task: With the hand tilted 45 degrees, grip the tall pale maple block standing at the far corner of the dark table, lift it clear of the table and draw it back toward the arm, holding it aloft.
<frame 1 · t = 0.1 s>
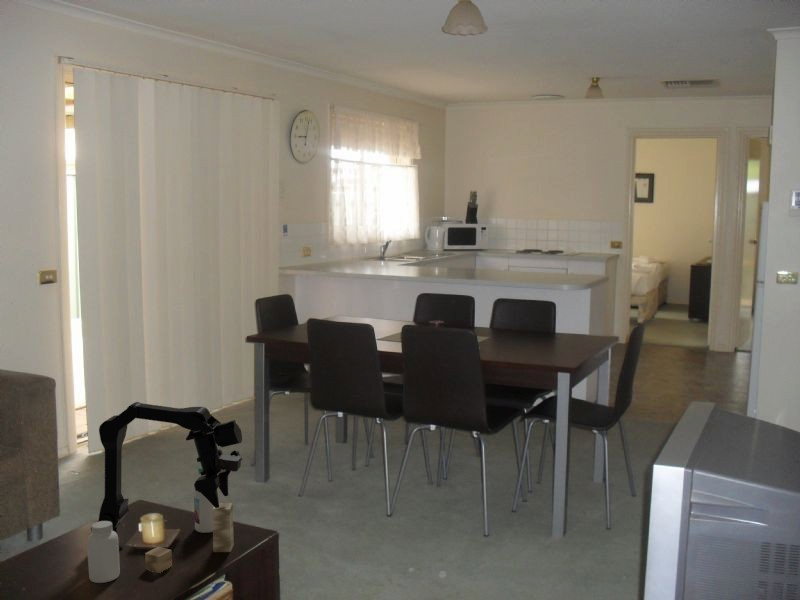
hand: (222, 501, 232), 15 cm above the table, tool pointing down, fingers open, 9 cm apart
oak cube: (159, 568, 224), on the table
milk bottle: (207, 529, 251), on the table
pill bottle: (104, 577, 219), on the table
maple block: (223, 548, 237), on the table
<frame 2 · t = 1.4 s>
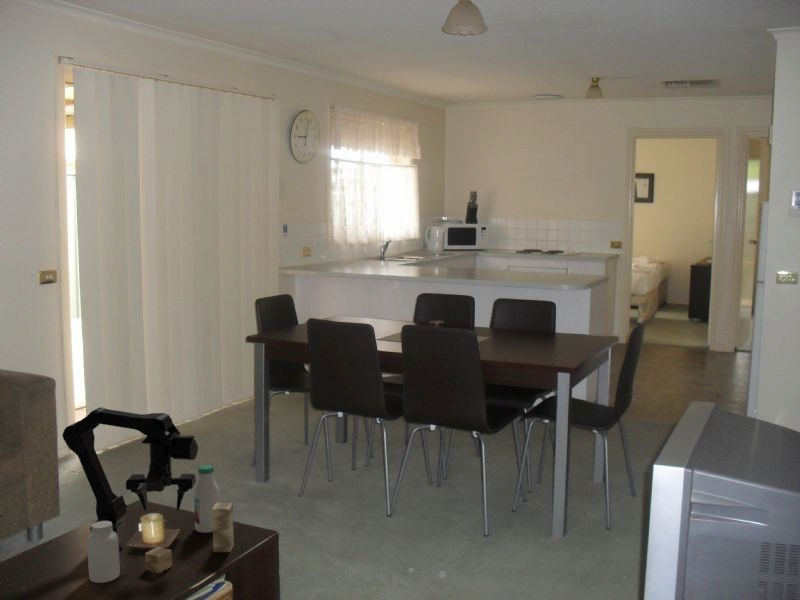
hand: (162, 510, 232), 13 cm above the table, tool pointing down, fingers open, 9 cm apart
nothing on the table moved.
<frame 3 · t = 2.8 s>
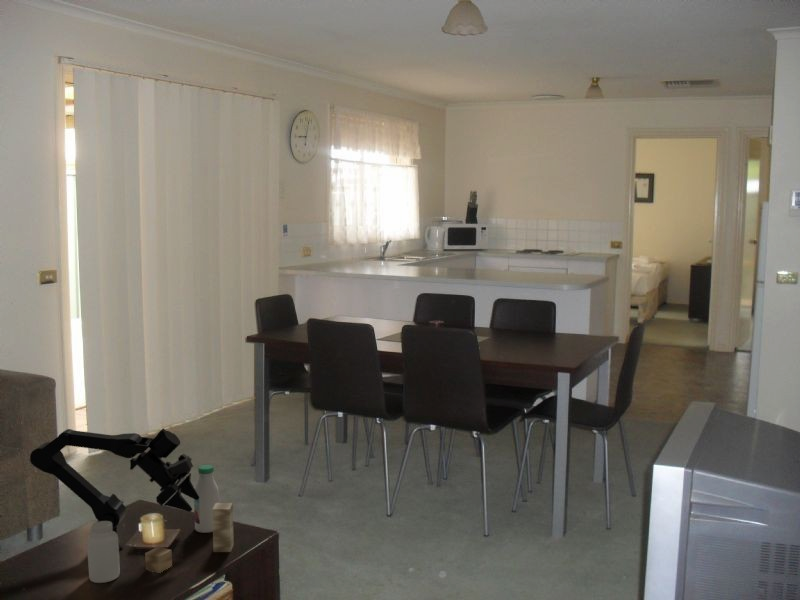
hand: (194, 504, 235), 13 cm above the table, tool tilted 45°, fingers open, 9 cm apart
nothing on the table moved.
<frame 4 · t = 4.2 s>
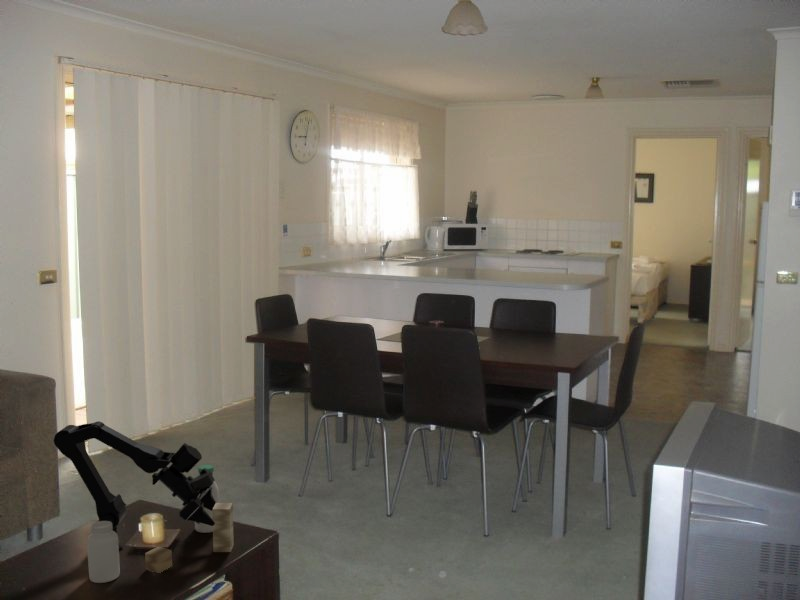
hand: (217, 518, 236), 9 cm above the table, tool tilted 45°, fingers open, 9 cm apart
nothing on the table moved.
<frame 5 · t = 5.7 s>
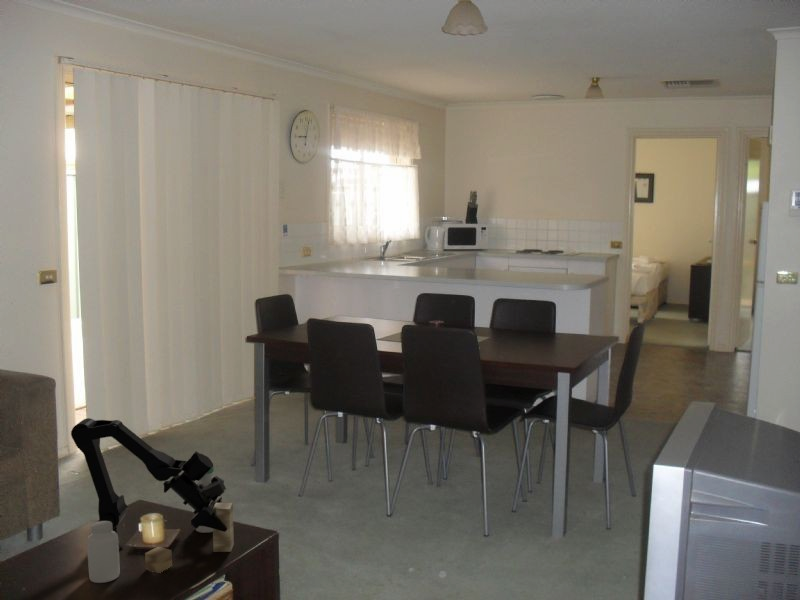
hand: (227, 526, 236), 7 cm above the table, tool tilted 45°, fingers closed on maple block, 5 cm apart
maple block: (223, 548, 237), on the table, touching gripper
everything else where it was.
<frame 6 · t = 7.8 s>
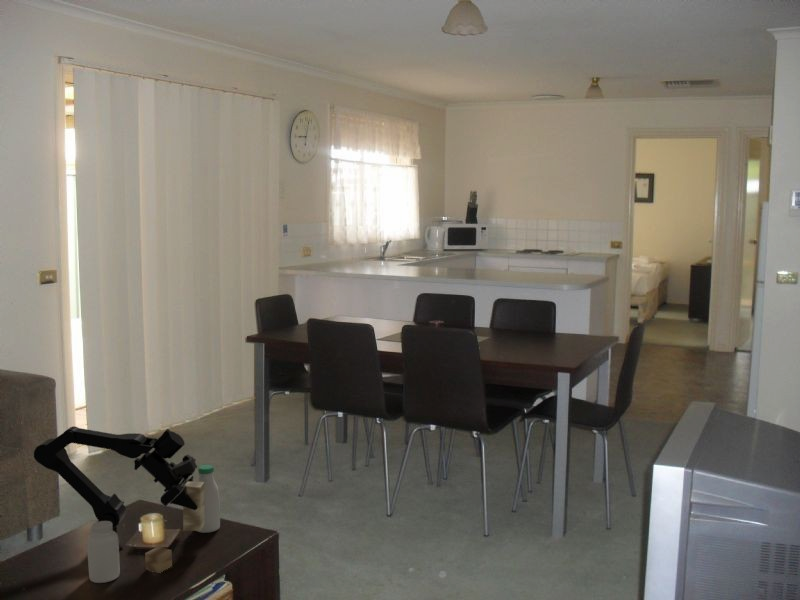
hand: (198, 505, 235), 13 cm above the table, tool tilted 45°, fingers closed on maple block, 5 cm apart
maple block: (194, 527, 236), point 7 cm above the table, touching gripper
everything else where it was.
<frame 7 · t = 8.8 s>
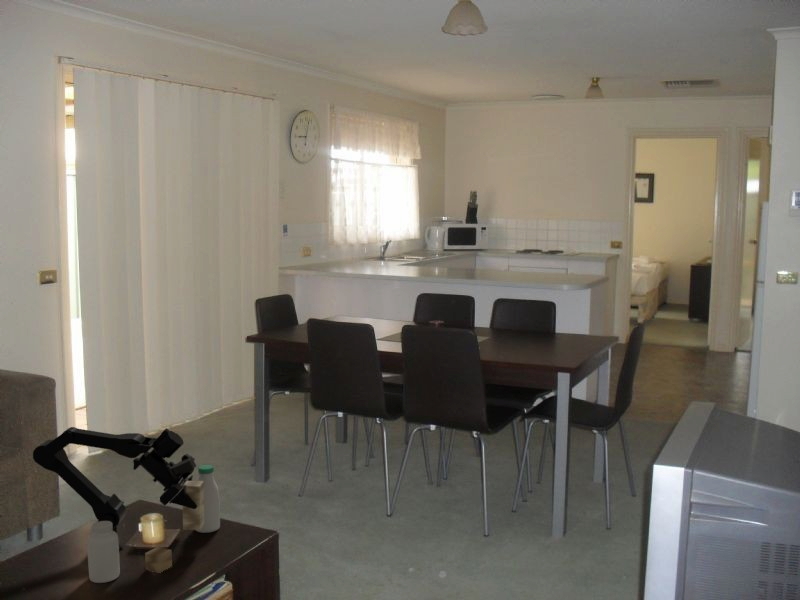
hand: (198, 504, 235), 14 cm above the table, tool tilted 45°, fingers closed on maple block, 5 cm apart
maple block: (193, 526, 236), point 7 cm above the table, touching gripper
everything else where it was.
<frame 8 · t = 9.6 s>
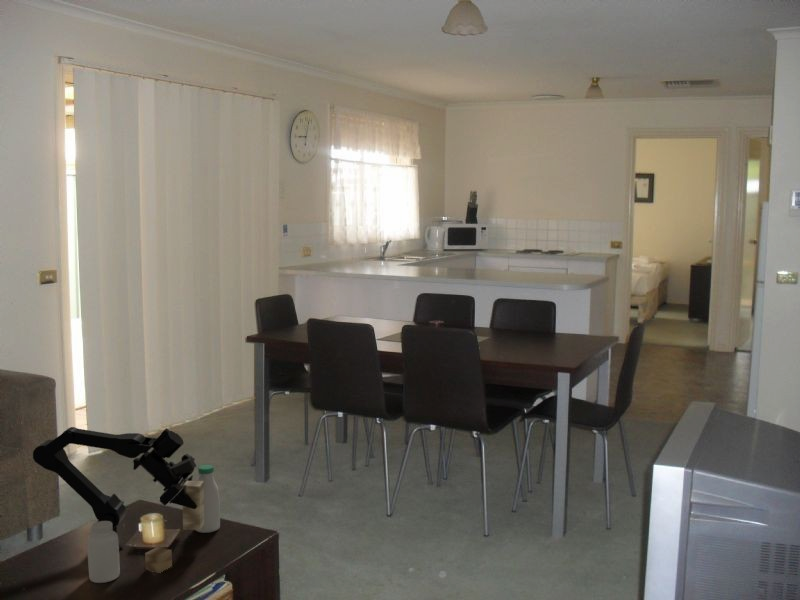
hand: (198, 504, 235), 14 cm above the table, tool tilted 45°, fingers closed on maple block, 5 cm apart
maple block: (193, 526, 236), point 7 cm above the table, touching gripper
everything else where it was.
at the end: the gripper is holding maple block; maple block point 6.8 cm above the table; maple block moved 10.9 cm from its start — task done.
